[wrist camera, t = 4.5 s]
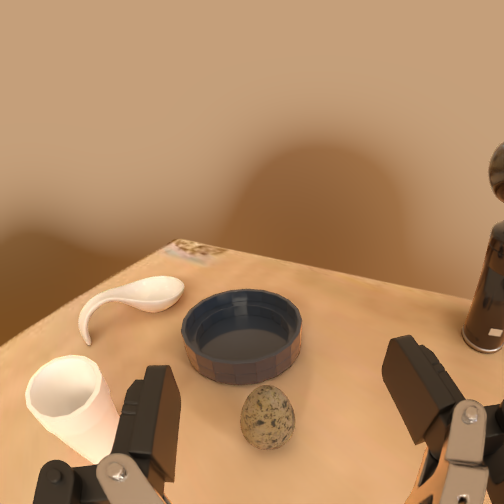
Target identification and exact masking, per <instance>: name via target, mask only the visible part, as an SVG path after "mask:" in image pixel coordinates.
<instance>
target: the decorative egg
mask: <svg viewBox="0 0 504 504" xmlns="http://www.w3.org/2000/svg"><path fill="white" fill-rule="evenodd" d="M240 423H241V430H242V433H243V435H244V437H245V438H246V440H247V441H248V442H249V443H250V444H251V445H253V446H255V447H257V448H259V449H264V450H271V449H276V448H278V447H281V446H282V445H284V444H285V443H286V442H287V441H288V440H289V439H290V437H291V436H292V434H293V431H294V428H295V415H294V411H293V408H292V406H291V403H290V401H289V400H288V398H287V397H286V395H285V394H284V393H283V392H282V391H281V390H280V389H278V388H276V387H274V386H271V385H263V386H260V387H258V388H256V389H255V390H254V391H253V392H252V393H251V394H250V395H249V396H248V398H247V400H246V401H245V404H244V406H243V409H242V412H241V420H240Z"/></svg>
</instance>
